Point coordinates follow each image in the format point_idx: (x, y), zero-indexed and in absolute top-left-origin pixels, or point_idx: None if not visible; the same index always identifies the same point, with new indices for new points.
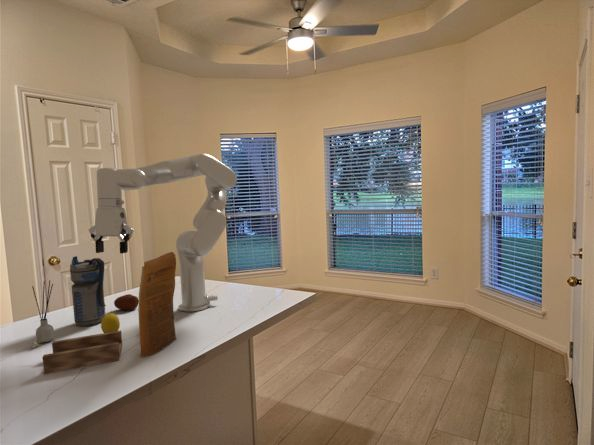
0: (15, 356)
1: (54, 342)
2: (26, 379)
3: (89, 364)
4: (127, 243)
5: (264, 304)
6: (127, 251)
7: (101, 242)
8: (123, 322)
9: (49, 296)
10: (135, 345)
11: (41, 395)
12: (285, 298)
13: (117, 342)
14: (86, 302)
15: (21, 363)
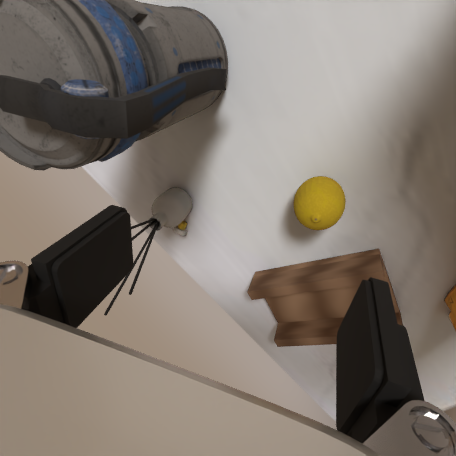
0: (182, 254)
1: (254, 297)
2: (266, 330)
3: None
4: (421, 391)
5: None
6: (387, 284)
7: (69, 283)
8: (306, 68)
9: (141, 266)
10: (416, 256)
11: (320, 371)
12: None
13: None
14: (175, 122)
15: (216, 281)
